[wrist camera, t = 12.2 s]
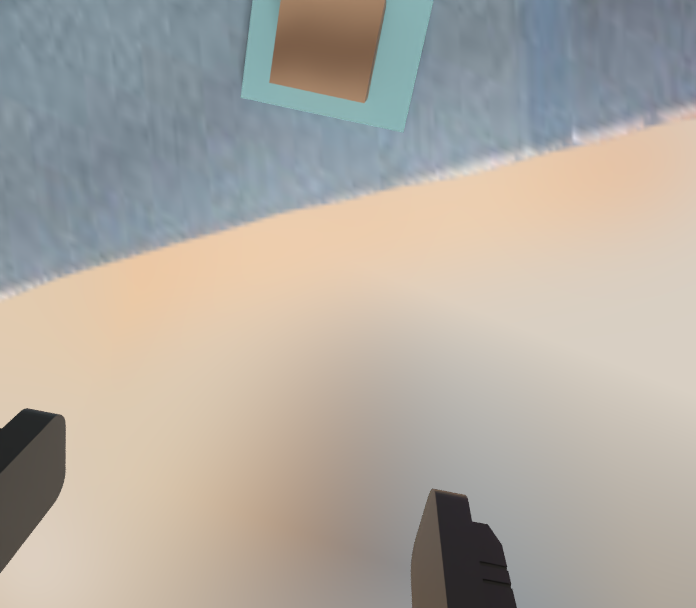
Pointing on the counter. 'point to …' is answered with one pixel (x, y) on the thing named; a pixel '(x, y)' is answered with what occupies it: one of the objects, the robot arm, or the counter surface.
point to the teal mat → (387, 79)
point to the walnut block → (327, 46)
